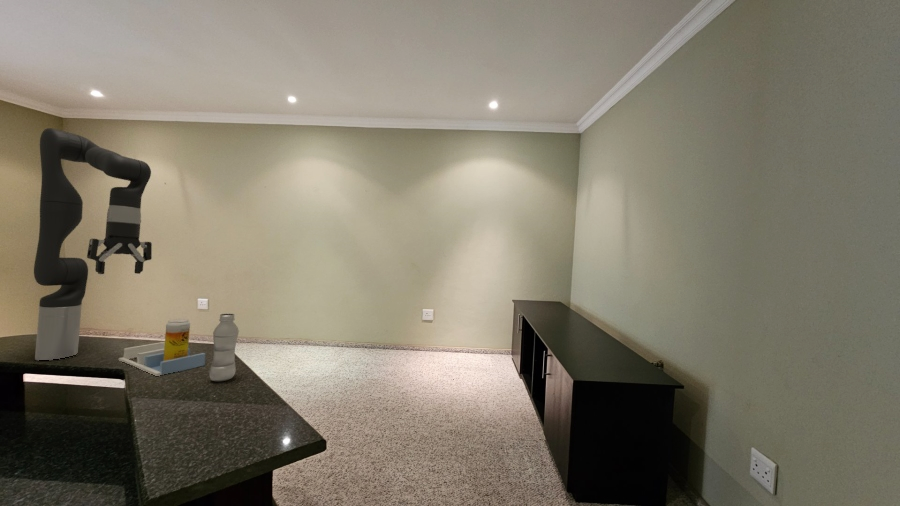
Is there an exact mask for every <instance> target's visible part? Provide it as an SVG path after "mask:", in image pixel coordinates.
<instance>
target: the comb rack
mask: <svg viewBox="0 0 900 506" xmlns="http://www.w3.org/2000/svg"><path fill="white" fill-rule="evenodd" d="M164 346H165V341H161V342H154V343H148V344H142V345H138V346H137V345H136V346H130V347H124V348H123V356H122V357H119V358H118V360H119V361H122V362H125V363H127V364H130V365H133V366H135V367H137V368H139V369H141V370H143V371H146V372H148V373H150V374H149V375H151V374H153V375H155V376H159V377H161V376H160V375H163V376H165V375H164V374H167V375H169V374H168V373H171V374H174V373H173V372H175V373H178V371H179V372H182V371H187V370H190V369H195V368H199V367H203V366H204V367H205V364H206V353H205V352H202V353H197V354H191V355H190V353H191V348H189V347H188V356H186V357H181V358H177V359H172V360H167V361H163V359H164ZM134 357H137V359H136V361H135V360H134V361H133V360H129V359H130V358H134ZM119 361H118V362H119ZM122 362H121V363H122ZM144 364H145V365H144ZM141 370H140V371H141ZM143 371H142V372H143ZM146 372H145V373H146ZM148 373H147V374H148ZM153 375H152V376H153ZM155 376H154V377H155Z"/></svg>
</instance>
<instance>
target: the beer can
mask: <svg viewBox="0 0 900 506" xmlns="http://www.w3.org/2000/svg"><path fill="white" fill-rule="evenodd" d="M190 328H191V323H190V320H189V319H187V318H175V319H170V320H167V323H166V325H165V335H164V336H165V337H164V342H165V346H164V359H163V361H167V360H172V359H177V358H181V357H186V356H188V348H189V341H190V340H189V339H190Z"/></svg>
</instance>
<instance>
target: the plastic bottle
mask: <svg viewBox="0 0 900 506" xmlns="http://www.w3.org/2000/svg"><path fill="white" fill-rule="evenodd" d="M218 320H219V324H217V325H216V327H215V328H214V329H213V333H212V336H213V337H212V339H213V357H212V363H211V365H210V368H209V372H208V373H209V374H208V375H209V379H210V380H211V381H212V382H224V381H229V380H231V379H233V377H234V376H235V373H236V370H237V369H236V362H235V360H236V359H235V355H236V354H235V353H236V346H237V341H238V336H239V331H240V330H239V327H238V326H237V324H236V323H235V322H234V321H235V313H229V312H228V313H222V314H220V315H219V319H218Z"/></svg>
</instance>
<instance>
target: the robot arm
mask: <svg viewBox="0 0 900 506" xmlns="http://www.w3.org/2000/svg"><path fill="white" fill-rule="evenodd" d="M39 138H40V139H39V155H40V157H39V158H40V166H41V186H40V197H39V199H40V200H39V229H38V230H39V233H38V241H37V248H36V253H35V259H34V266H33V277H34V280H35V282H36V283H37V284H38V285H39V286H44V287H46V286H47V287H48V286H49V287H50V286H60V287H59V288H58V289H57V290H56V291H54V292H52V293H50V294H47V295H45V296H42V297H41V298H40V299H39V306H38V317H37V331H36V342H35V353H34V360H36V361H39V360H49V361H54V360H53V359H59V360H61V359H60V358H65V357H69V356H73V355H76V354H77V353H78V351H79V341H80V340H79V339H80V328H81V317H82V304H83V303H82V302H83V299H84V297H85V296H86V289H87V283H88V276H89V266H88V264H87V262H86V261H85V260H84V259H82V258H80V257H60V256H61V251H62V246H63V243H64V242H65V240H66V238H67V237H68V236H70V234H71V233H73V231H74V230H75V229H76V228H77V227H78V226H79V224H80V223H81V221H82V219H83V208H84V207H83V206H84V205H83V203H84V202H83V199H82V196H81V195H80V194H79V191H77V189H76V188H75V187H74V185H73V183H71V181H70V179H68V178H67V177H68V176H66V174H65V171H64V168H63V165H62V164H63V163H62V160H64V161H69V162H74V163H85V164H86V163H87V164H88V165H90V166H91V167H92V168H94V169H97V170H99V171H101V172H103V173H104V174H105V175H106V176H108V177H110V178H114V179H118V180H124V181H129V183H128V185H127V186H114V187H112V188H111V189H110V191H109V201H108V202H109V203H108V208H107V213H106V223H105V224H106V225H105V234H104V235H105V236H104V239H97V238H90V239H89V242H88V249H87V254H86V258H87V259H89V260H93V261H94V262H95V270H94V271H95V272H96V273H97V274H98V275H104V274H105V269H106V267H105V266H106V262H105V260H106V259H107V258H109V257H110V256H112V254H113V255H129V256H131V257H132V258H134V260H135V261H134V262H135V264H134V274H137V275H138V274H139V275H140V274H141V272H143V271H144V262H146V261H151V260H152V257H153V256H152V251H153V250H152V248H153V247H152V246H153V245H152V241H140V235H141V234H140V233H141V223H142V220H141V219H142V212H141V208H142V197H143V194H144V192H145V190H146V187H147V186H148V185H147V184H148V182H149V181H150V179H151V176H152V169H151V167H150V166H149V164H148V163H147V162H145V161H143V160H139V159H136V158H131V157H127V156H123V155H121V154H119V153H117V152H115V151H112V150H110V149H107V148H103V147H100V146H99V145H97V144H96V143H94V142H93V141H92V140H90V139H89V138H86V137H84V136H82V135H80V134H76V133H72V132H69V131H64V130H61V129H56V128H51V127H48V128H47V127H46V128H45V129H43V131H42V132H41V134H40V137H39ZM102 244H103V246H104V247H105V248H104V249H103V250H102V251H101V252H100V254H98V250H99V247H101V246H102ZM140 246H141V248H142V255H143V256H142V255H141V253H140V252H139V251H138V248H139V247H140ZM97 254H98V255H97ZM77 355H78V354H77ZM77 355H76V356H77ZM73 357H74V356H73ZM69 358H70V357H69ZM65 359H66V358H65Z"/></svg>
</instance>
